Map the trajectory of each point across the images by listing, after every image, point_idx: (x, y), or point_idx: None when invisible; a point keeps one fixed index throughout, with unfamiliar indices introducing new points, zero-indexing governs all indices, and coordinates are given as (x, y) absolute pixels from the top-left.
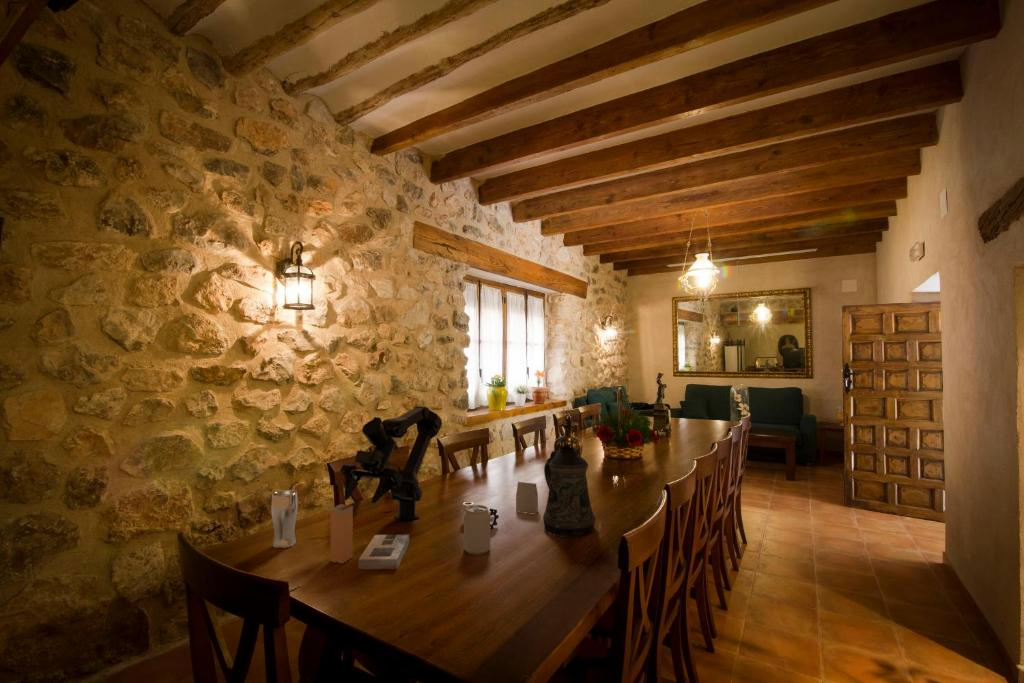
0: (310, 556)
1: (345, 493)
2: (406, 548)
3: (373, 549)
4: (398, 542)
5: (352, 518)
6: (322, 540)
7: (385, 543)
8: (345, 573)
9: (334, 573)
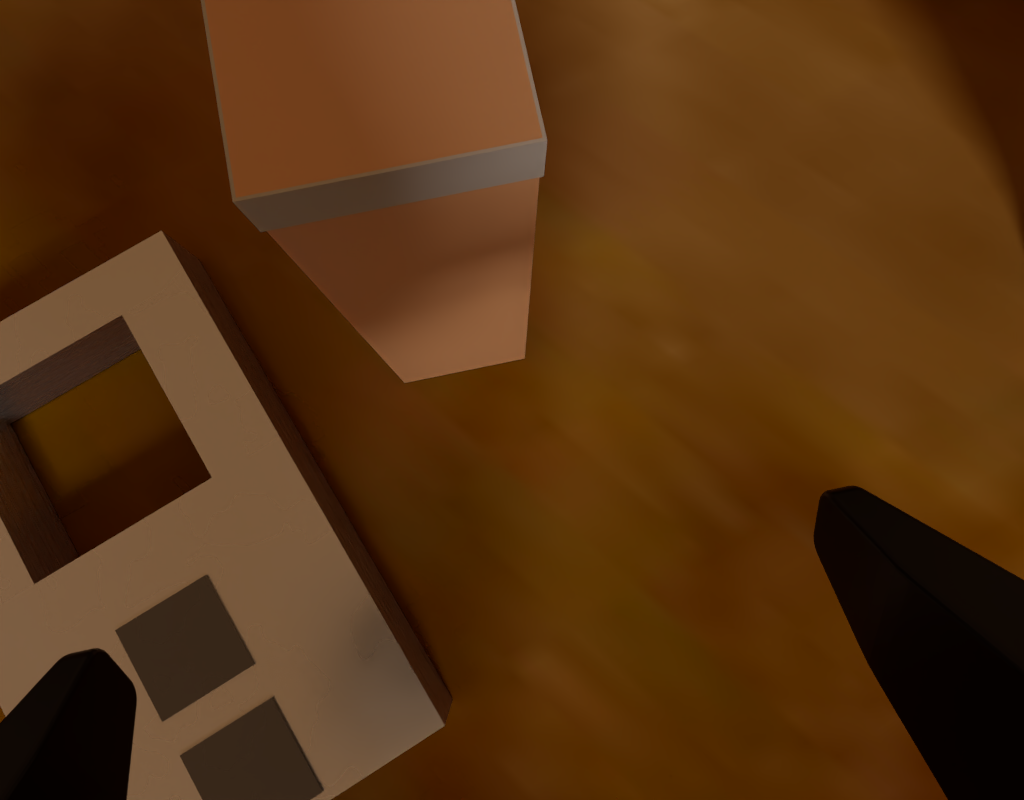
0: (719, 227)
1: (943, 554)
2: None
3: (198, 450)
4: None
5: (312, 278)
6: (935, 497)
7: (178, 605)
8: None
9: None
